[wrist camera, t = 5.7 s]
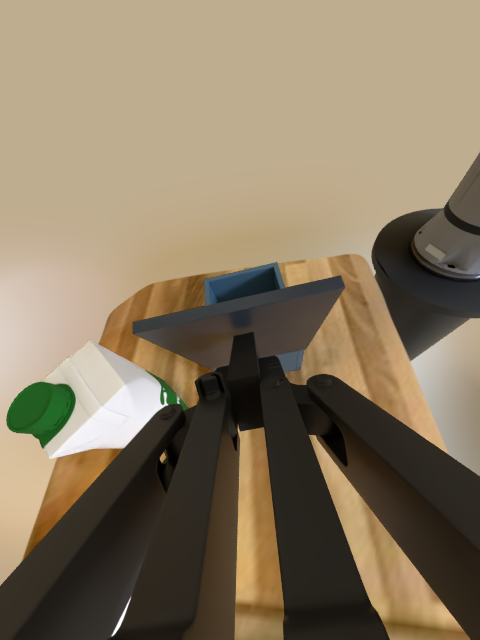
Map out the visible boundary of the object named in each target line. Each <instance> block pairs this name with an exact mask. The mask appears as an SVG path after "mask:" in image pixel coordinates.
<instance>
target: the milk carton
mask: <svg viewBox="0 0 480 640" xmlns="http://www.w3.org/2000/svg"><path fill="white" fill-rule="evenodd" d="M170 404H180V405H181V406H182V407H183V410H186V409H188V408H187V406H186V405H185V404H184V403H183V402H182V400H181V399H180V398H179V397H178V395H177V394H176V393H175V392H174V391H173V390H172V389H171V388H170V387H169V386H168V384H167V383H166V382H165V381H163V380H162V379H160V378H158V377H157V376H155V375H153V374H151V373H150V372H148V371H146V370H144V369H143V368H141V367H139V366H137V365H136V364H134V363H132V362H130V361H128V360H127V359H125V358H123V357H121V356H119V355H117V354H115V353H113V352H112V351H110V350H108V349H106V348H104V347H102V346H101V345H99V344H97V343H95V342H93V341H92V340H89V341H88V342H87V343H86V344H85V345H84V346H82V347H81V348H80V349H79V350H78V351H77V352H75V353H74V354H73V355H72V356H71V357H68V358H66V359H65V360H64V361H63V362H61V363H60V364H59V366H58V367H57V368H56V369H54V370H53V371H52V372H51V373H50V374H49V375H48V376H46V377H45V378H44V379H43V380H42V381H41V382H38V383H34V384H32V385H30V386H28V387H27V388H25V389H24V390H23V391H22V392H20V393H19V395H18V396H17V397H16V398H15V399H14V401H13V403H12V404H11V406H10V408H9V410H8V413H7V419H6V420H7V426H8V428H9V429H10V430H11V431H13V432H16V433H26V434H32V435H33V436H34V437H35V438H37V439H39V441H40V444H41V446H42V448H45V451H46V453H47V456H48V457H49V459H53V458H57V457H61V456H65V455H69V454H73V453H78V452H82V451H86V450H90V449H95V448H110V449H124V448H125V447H126V445H127V444H128V443H129V442H130V441H131V440H132V439H133V438H134V437H135V435H136V434H137V433H138V432H139V431H140V430H141V429H142V428H143V427H144V425H145V424H146V423H147V422H148V421H149V420H150V419H151V418H152V417H153V415H154V414H155V413H156V412H158V411H159V410H160V409H162V408H163V407H164V406H168V405H170Z"/></svg>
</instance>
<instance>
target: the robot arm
mask: <svg viewBox="0 0 480 640" xmlns="http://www.w3.org/2000/svg"><path fill="white" fill-rule="evenodd" d="M409 253H410V255H411V257H412V259H413V261H414V262H415V263H416V264H417V265H418V266H419V267H420V268H422V269H423V270H425V271H426V272H428V273H430V274H432V275H434V276H437V277H439V278H442V279H446V280H450V281H456V282H477V281H480V153H479V155H478V156H477V158H476V159H475V161H474V162H473V164H472V166H471V167H470V169H469V170H468V172H467V173H466V175H465V176H464V178H463V180H462V181H461V182H460V184H459V186H458V187H457V188H456V190H455V192H454V193H453V195H452V196H451V197H450V199H449V201H448V202H447V204H446V205H445V207H444V208H443V209H442V210H441V211H440V212H438V213H437V214H436V215H435V216H434V217H433V218H431V219H430V220H429V221H428V222H427V223H426V224H425V225H423V226H422V227H421V228H420V229H419V230H418V231H417V232H416V233H415V235H414V237H413V238H412V240H411V242H410V244H409ZM195 385H196V388H197V392H198V395H199V401H198V403H197V405H196V406H193V407H191V408H189V409H186V410H183V407H182V406H181V405H180V404H170V405H168V406H164V407H163V408H162V409H160V410H159V411H158V412H156V413H155V414H154V415H153V417H152V418H151V419H150V420H149V421H148V422H147V423H146V424H145V425H144V427H143V428H142V429H141V430H140V431H139V432H138V433H137V434H136V435H135V437H134V438H133V439H132V440H131V441H130V442H129V443H128V444H127V445H126V447H125V448H124V449H123V450H122V451H121V452H120V453H119V454H118V456H117V457H116V458H115V459H114V460H113V461H112V462H111V463H110V464H109V466H108V467H107V468H106V469H105V470H104V471H103V472H102V473H101V474H100V476H99V477H98V478H97V479H96V480H95V481H94V482H93V483H92V484H91V486H90V487H89V488H88V489H87V490H86V491H85V492H84V493H83V494H82V496H81V497H80V498H79V499H78V500H77V501H76V502H75V503H74V504H73V506H72V507H71V508H70V509H69V510H68V511H67V512H66V513H65V514H64V516H63V517H62V518H61V519H60V520H59V521H58V522H57V523H56V525H55V526H54V527H53V528H52V529H51V530H50V531H49V532H48V533H47V535H46V536H45V537H44V538H43V539H42V540H41V541H40V542H39V543H38V545H37V546H36V547H35V548H34V549H33V550H32V551H31V552H30V553H29V555H28V556H27V557H26V558H25V559H24V560H23V561H22V562H21V563H20V565H19V566H18V567H17V568H16V569H15V570H14V572H12V573H11V575H10V576H9V577H8V578H7V579H6V580H5V581H4V582H3V584H2V585H1V586H0V640H234V632H235V597H236V562H237V526H238V491H239V455H240V438H239V434H238V430H237V429H238V425H239V429H240V431H245V430H250V429H256V428H262V427H264V429H265V438H266V447H267V456H268V465H269V474H270V483H271V492H272V501H273V510H274V519H275V528H276V537H277V546H278V555H279V564H280V573H281V582H282V591H283V600H284V620H283V634H284V640H390V639H389V636H388V634H387V632H386V629H385V627H384V625H383V623H382V620H381V618H380V616H379V614H378V612H377V611H376V610H375V608H374V607H373V606H372V604H371V602H370V600H369V598H368V595H367V593H366V590H365V588H364V585H363V582H362V580H361V577H360V574H359V571H358V569H357V566H356V563H355V561H354V558H353V555H352V552H351V550H350V547H349V544H348V541H347V539H346V536H345V533H344V531H343V528H342V525H341V522H340V520H339V517H338V514H337V511H336V509H335V506H334V503H333V501H332V498H331V495H330V492H329V490H328V487H327V484H326V481H325V479H324V476H323V473H322V471H321V468H320V465H319V462H318V460H317V457H316V454H315V451H314V449H313V446H312V443H311V441H310V438H309V435H316V437H317V440H318V441H319V443H320V444H321V445H322V446H323V448H324V449H325V450H326V452H327V453H328V454H329V456H330V457H331V458H332V459H333V461H334V462H335V463H336V465H337V466H338V467H339V469H340V470H341V471H342V472H343V474H344V475H345V476H346V478H347V479H348V480H349V482H350V483H351V484H352V485H353V487H354V488H355V489H356V491H357V492H358V493H359V495H360V496H361V497H362V498H363V500H364V501H365V502H366V504H367V505H368V506H369V508H370V509H371V510H372V511H373V513H374V514H375V515H376V517H377V518H378V519H379V521H380V522H381V523H382V524H383V526H384V527H385V528H386V530H387V531H388V532H389V534H390V535H391V536H392V537H393V539H394V540H395V541H396V543H397V544H398V545H399V547H400V548H401V549H402V550H403V552H404V553H405V554H406V556H407V557H408V558H409V560H410V561H411V562H412V563H413V565H414V566H415V567H416V569H417V570H418V571H419V573H420V574H421V575H422V576H423V578H424V579H425V580H426V582H427V583H428V584H429V586H430V587H431V588H432V590H433V591H434V592H435V593H436V595H437V596H438V597H439V599H440V600H441V601H442V603H443V604H444V605H445V606H446V608H447V609H448V610H449V612H450V613H451V614H452V616H453V617H454V618H455V619H456V621H457V622H458V623H459V625H460V626H461V627H462V629H463V630H464V631H465V632H466V634H467V635H468V636H469V638H470V639H471V640H480V476H478V475H477V474H475V473H474V472H472V471H471V470H470V469H468V468H467V467H465V466H464V465H462V464H461V463H459V462H458V461H457V460H455V459H454V458H452V457H451V456H449V455H448V454H447V453H445V452H444V451H442V450H441V449H439V448H438V447H436V446H435V445H434V444H432V443H431V442H429V441H428V440H426V439H425V438H423V437H422V436H421V435H419V434H418V433H416V432H415V431H413V430H412V429H410V428H409V427H408V426H406V425H405V424H403V423H402V422H400V421H399V420H397V419H396V418H395V417H393V416H392V415H390V414H389V413H387V412H386V411H384V410H383V409H382V408H380V407H379V406H377V405H376V404H374V403H373V402H371V401H370V400H369V399H367V398H366V397H364V396H363V395H361V394H360V393H358V392H357V391H356V390H354V389H353V388H351V387H350V386H348V385H347V384H345V383H344V382H343V381H341V380H340V379H338V378H337V377H335V376H332V375H327V374H319V375H315V376H313V377H311V378H309V379H308V380H307V385H295V384H292V383H290V382H289V381H288V379H287V378H286V377H285V374H284V371H283V368H282V366H281V363H280V360H279V358H278V357H276V356H275V355H273V356H268V357H263V358H260V357H259V353H258V348H257V344H256V340H255V335H254V332H250V333H245V334H241V335H236V336H234V338H233V344H232V350H231V356H230V362H229V365H227V366H222V367H218V368H217V369H216V370H215V371H214V372H211V373H207V374H204V375H202V376H200V377H199V378H198V379H197V380H196V381H195ZM308 434H309V435H308ZM163 452H164V453H165V456H166V459H165V460H164V461H163V462H162V463H161V461H160V457H161V455H162V454H163ZM130 598H131V599H130ZM129 600H130V602H129ZM128 602H129V605H128V607H127V610H126V613H125V616H124V618H123V621H122V623H121V625H120V627H119V629H118V630H117V632H116V633H115V634H114V635H113V636H112V634H113V632H114V630H115V628H116V626H117V624H118V622H119V620H120V618H121V616H122V614H123V612H124V610H125V608H126V606H127V604H128Z"/></svg>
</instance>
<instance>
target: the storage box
mask: <svg viewBox="0 0 480 640" xmlns="http://www.w3.org/2000/svg"><path fill="white" fill-rule="evenodd" d="M282 288H285V285H284V282H283V279H282V276H281V273H280V270H279V266H278V263H277V262H276V263H272V264H267V265H263V266H259V267H254V268H250V269H246V270H242V271H237V272H233V273H229V274H224V275H220V276H216V277H212V278H207V279H204V291H205V305H206V306H207V305H211V304H216V303H220V302H224V301H229V300H233V299H238V298H242V297H247V296H251V295H256V294H260V293H265V292H269V291H274V290H278V289H282ZM303 354H304V350H300V351H295V352H290V353H285V354H280V355H275V356H276V357H278V358H279V360H280V363H281V366H282V368H283V371H284V372H288V371H293V370H299V369H301V365H302V360H303ZM225 366H227V365H225ZM220 367H222V366H220ZM217 368H218V367H215V368H211V369H212V370H213V371H215V370H216V369H217Z"/></svg>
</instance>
